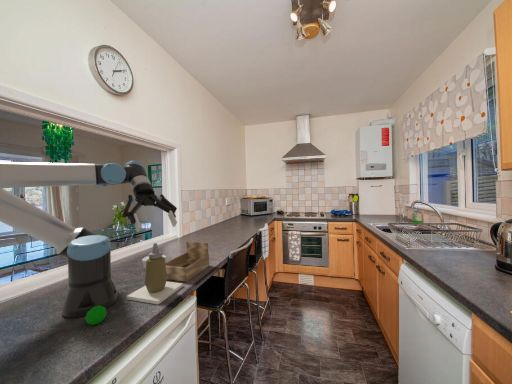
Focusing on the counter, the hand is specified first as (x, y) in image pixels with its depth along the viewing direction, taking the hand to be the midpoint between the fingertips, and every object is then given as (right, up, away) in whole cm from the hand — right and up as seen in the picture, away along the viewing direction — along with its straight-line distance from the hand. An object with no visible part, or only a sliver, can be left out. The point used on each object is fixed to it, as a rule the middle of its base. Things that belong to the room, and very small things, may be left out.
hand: (158, 227), depth 78 cm
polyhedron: (-11, -26, -17) cm, 33 cm away
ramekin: (-16, -26, +29) cm, 42 cm away
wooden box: (+3, -26, +22) cm, 34 cm away
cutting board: (-1, -26, +2) cm, 26 cm away
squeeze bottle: (-1, -25, +2) cm, 25 cm away
